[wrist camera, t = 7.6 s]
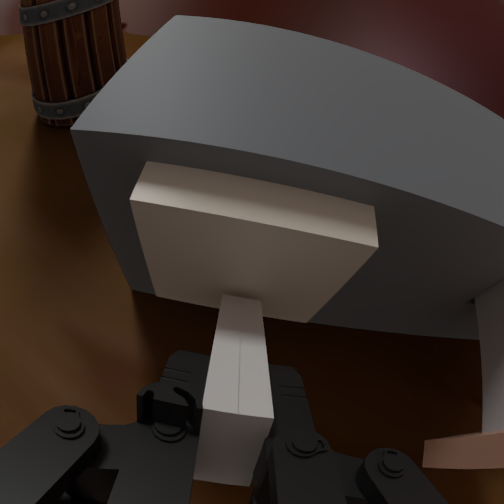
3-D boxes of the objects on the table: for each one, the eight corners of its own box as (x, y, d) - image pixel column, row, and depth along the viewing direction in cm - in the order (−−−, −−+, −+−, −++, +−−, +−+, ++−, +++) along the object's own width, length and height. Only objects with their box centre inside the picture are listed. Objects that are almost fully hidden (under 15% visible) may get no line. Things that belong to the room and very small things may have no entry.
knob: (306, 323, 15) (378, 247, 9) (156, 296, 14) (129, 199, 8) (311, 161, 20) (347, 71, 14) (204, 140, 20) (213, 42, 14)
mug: (144, 107, 27) (142, -44, 14) (40, 145, 23) (-1, -3, 10) (112, 51, 32) (108, -50, 19) (36, 78, 28) (17, -24, 16)
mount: (481, 339, 20) (597, 271, 10) (130, 289, 18) (69, 129, 8) (461, 230, 25) (540, 145, 15) (175, 163, 24) (175, 15, 13)
